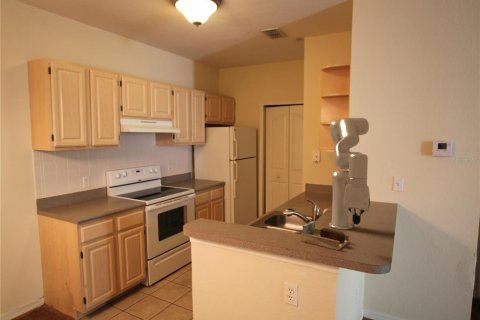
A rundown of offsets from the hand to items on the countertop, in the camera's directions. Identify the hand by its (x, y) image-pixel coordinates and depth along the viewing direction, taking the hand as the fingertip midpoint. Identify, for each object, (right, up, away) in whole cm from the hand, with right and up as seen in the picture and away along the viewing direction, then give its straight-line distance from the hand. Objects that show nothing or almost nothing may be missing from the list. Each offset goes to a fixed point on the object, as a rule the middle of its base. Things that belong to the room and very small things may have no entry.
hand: (356, 223), depth 128 cm
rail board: (-11, -11, +10) cm, 18 cm away
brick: (-8, -10, +9) cm, 15 cm away
